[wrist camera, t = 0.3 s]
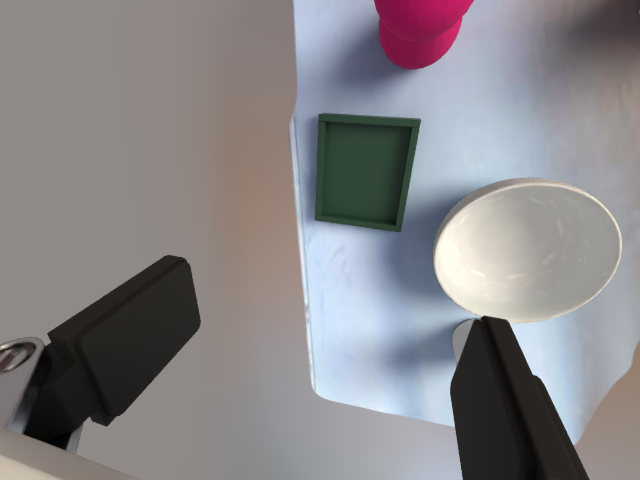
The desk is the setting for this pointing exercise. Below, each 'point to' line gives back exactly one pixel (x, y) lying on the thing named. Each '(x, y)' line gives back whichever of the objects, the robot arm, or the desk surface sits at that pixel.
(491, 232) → the cereal bowl
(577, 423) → the desk surface
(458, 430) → the robot arm
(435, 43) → the pepper mill
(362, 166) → the tray
